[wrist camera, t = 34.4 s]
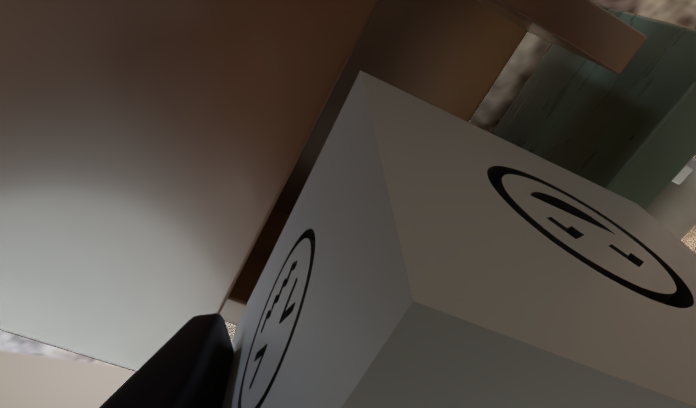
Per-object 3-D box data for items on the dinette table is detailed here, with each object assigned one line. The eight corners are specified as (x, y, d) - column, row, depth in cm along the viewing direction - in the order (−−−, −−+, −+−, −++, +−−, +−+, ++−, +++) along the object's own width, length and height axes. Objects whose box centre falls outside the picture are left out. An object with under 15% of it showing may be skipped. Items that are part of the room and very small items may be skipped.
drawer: (719, 88, 16) (924, 167, 11) (512, 327, 21) (579, 469, 15) (-51, -404, 10) (-480, -789, 5) (-101, 78, 15) (-349, 160, 10)
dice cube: (471, 401, 10) (581, 761, 6) (237, 323, 9) (145, 698, 4) (636, 204, 8) (1015, 527, 4) (360, 69, 7) (412, 300, 2)
